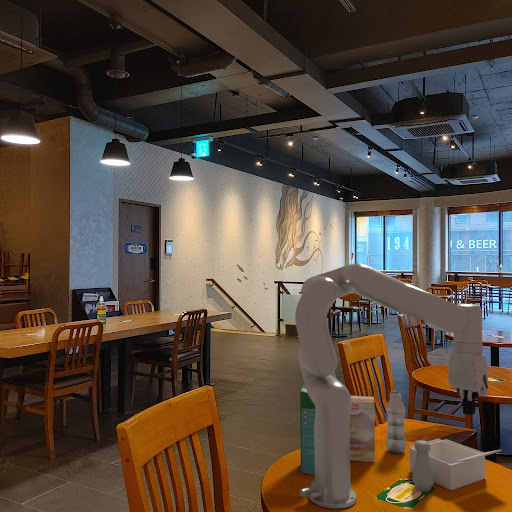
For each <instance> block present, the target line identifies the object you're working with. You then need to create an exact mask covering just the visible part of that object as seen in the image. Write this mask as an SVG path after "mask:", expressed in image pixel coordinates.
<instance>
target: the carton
mask: <svg viewBox="0 0 512 512" xmlns="http://www.w3.org/2000/svg"><path fill="white" fill-rule="evenodd" d="M427 442H429V443H430V451H429V457H430V462H431V467H432V472H433V477H434V484H436V485H438V486H440V487H442V488H444V489H447V490H449V491H451V492H452V491H456V490H459V489H461V488H464V487H466V486H470V485H473V484H476V483H478V482H477V481H479V482H481V481H480V480H482V481H484V480H483V479H485V478H486V456H483V457H480V458H476V459H473V460H469V461H463V462H458V463H453V462H454V461H457V460H460V459H464V458H467V457H471V456H474V455H478V454H481V453H484V451H480V450H478V449H474V448H472V447H469V446H466V445H463V444H460V443H458V442H455V441H452V440H449V439H441V438H436V439H433V440H429V441H427ZM416 452H417V450H416V449H415V444H413V445H410V446H409V472H410V473H413V472H414V465H415V459H416ZM485 480H486V479H485ZM475 482H476V483H475ZM472 483H473V484H472Z"/></svg>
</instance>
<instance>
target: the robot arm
mask: <svg viewBox="0 0 512 512" xmlns="http://www.w3.org/2000/svg"><path fill="white" fill-rule="evenodd" d="M300 290H301V291H300V293H301V296H300V297H299V300H298V302H297V305H296V308H295V314H294V316H295V319H294V320H295V321H294V322H295V327H296V332H297V336H298V339H299V343H300V345H299V347H298V350H297V358H298V364H299V369H300V371H301V375H302V378H303V383H304V385H305V386H306V389H307V392H308V395H309V397H310V399H311V401H312V402H313V403H314V405H315V407H316V414H315V424H314V442H315V474H314V480H311V485H309V487H305V488H304V487H303V488H300V489H299V494H300V497H302V498H304V497H309V499H310V501H311V502H312V503H314V504H315V505H317V506H319V507H321V508H326V509H332V510H337V509H338V510H339V509H346V508H349V507H352V506H353V505H354V504H356V502H357V494H356V492H355V491H354V490H353V489H352V488H351V460H350V416H351V407H352V403H351V396H352V395H351V394H350V391H349V390H348V388H347V387H346V385H344V384H343V383H342V382H341V381H340V380H338V379H337V375H336V372H335V371H336V369H337V367H338V357H337V353H336V351H335V350H336V349H335V347H334V343H333V340H332V336H331V333H330V330H329V325H328V319H327V318H328V312H329V310H330V308H331V306H333V304H334V303H335V302H336V301H337V299H339V298H344V297H346V296H348V295H350V294H354V295H357V296H360V297H362V298H365V299H366V300H369V301H371V302H373V303H375V304H378V305H380V306H381V307H383V308H386V309H387V310H390V311H393V312H395V313H398V314H403V315H407V316H410V317H413V318H416V319H420V320H422V321H423V322H424V323H425V325H427V326H428V327H429V328H430V329H434V330H437V331H443V332H445V333H450V334H453V341H452V342H450V345H451V347H453V350H452V351H450V355H449V361H448V372H447V381H448V385H449V386H450V388H451V389H452V390H454V391H455V392H457V393H458V395H459V398H460V399H461V400H462V401H461V402H462V414H463V415H467V416H470V415H475V414H476V401H477V400H478V399H479V397H486V396H488V389H489V373H488V371H489V370H488V364H487V359H486V355H485V354H484V352H483V350H484V349H483V310H482V308H481V306H480V305H478V304H472V303H458V304H456V303H453V302H451V301H449V300H447V299H445V298H443V297H440V296H438V295H435V294H433V293H431V292H428V291H425V290H423V289H420V288H419V287H416V286H413V285H411V284H409V283H406V282H404V281H403V280H399V279H397V278H395V277H393V276H390V275H388V274H386V273H384V272H382V271H380V270H378V269H376V268H373V267H372V266H369V265H366V264H363V263H352V264H351V263H350V264H346V265H343V266H341V267H339V268H335V269H332V270H328V271H325V272H323V273H320V274H317V275H314V276H311V277H309V278H307V279H305V281H304V282H303V283H302V285H301V289H300Z"/></svg>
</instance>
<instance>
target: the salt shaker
mask: <svg viewBox="0 0 512 512" xmlns="http://www.w3.org/2000/svg"><path fill="white" fill-rule="evenodd" d="M414 445H415V449H416V450H417V452H416V459H415V465H414V472H413V474H412V482H413V484H414V486H415V488H416V490H418V491H420V492H430V491H431V489H432V488H433V485H434V484H435V483H434V477H433V472H432V467H431V462H430V457H429V451H430V443H429V442H428V441H427V440H422V439H421V440H420V439H419V440H416V441H415V442H414Z"/></svg>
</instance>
